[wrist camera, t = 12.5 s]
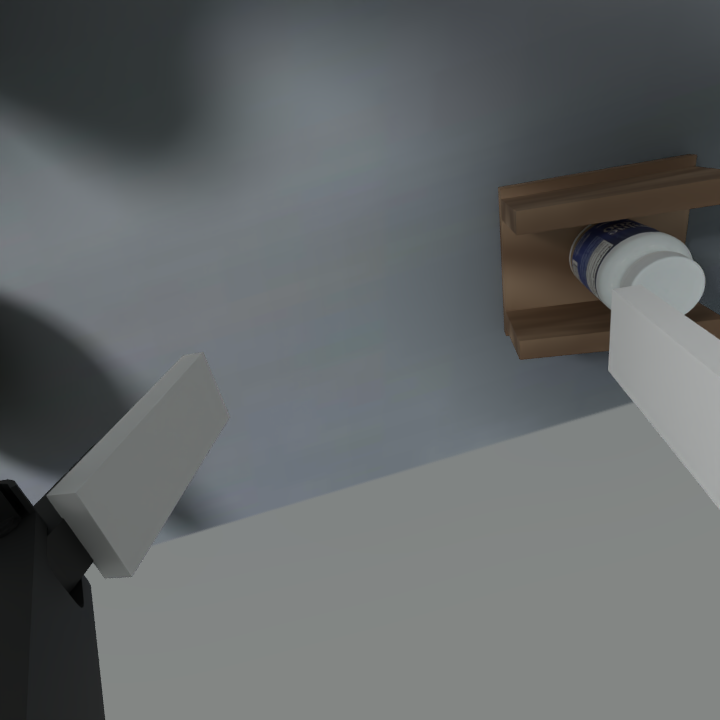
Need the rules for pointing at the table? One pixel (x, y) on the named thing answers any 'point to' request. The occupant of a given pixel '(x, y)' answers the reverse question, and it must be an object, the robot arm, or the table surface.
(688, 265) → the pill bottle
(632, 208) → the u rest
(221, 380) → the table surface
